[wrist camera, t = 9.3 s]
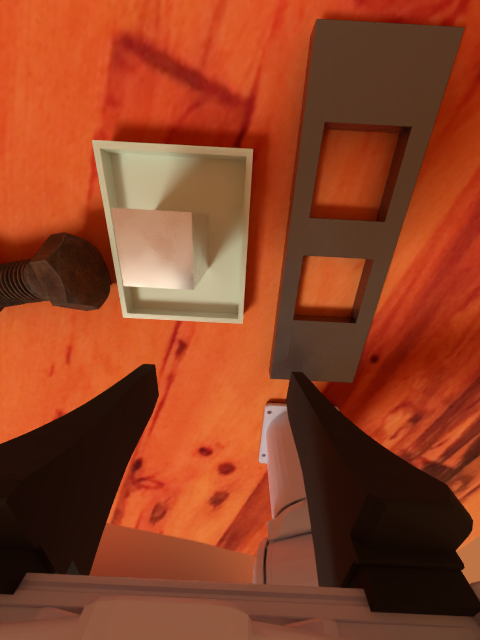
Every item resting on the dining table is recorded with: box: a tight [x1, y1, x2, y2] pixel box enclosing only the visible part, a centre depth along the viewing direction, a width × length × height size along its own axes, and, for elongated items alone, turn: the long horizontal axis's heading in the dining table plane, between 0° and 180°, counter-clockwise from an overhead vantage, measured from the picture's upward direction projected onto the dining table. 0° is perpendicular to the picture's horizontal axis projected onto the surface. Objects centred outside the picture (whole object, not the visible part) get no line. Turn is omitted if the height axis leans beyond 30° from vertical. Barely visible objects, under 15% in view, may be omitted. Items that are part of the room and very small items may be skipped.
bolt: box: [0, 233, 110, 312], centre depth 18 cm, size 6×5×15 cm
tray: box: [92, 140, 253, 324], centre depth 17 cm, size 12×10×2 cm
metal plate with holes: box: [269, 19, 465, 383], centre depth 18 cm, size 24×8×1 cm, turn 177°
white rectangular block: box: [111, 208, 209, 290], centre depth 15 cm, size 4×4×6 cm
